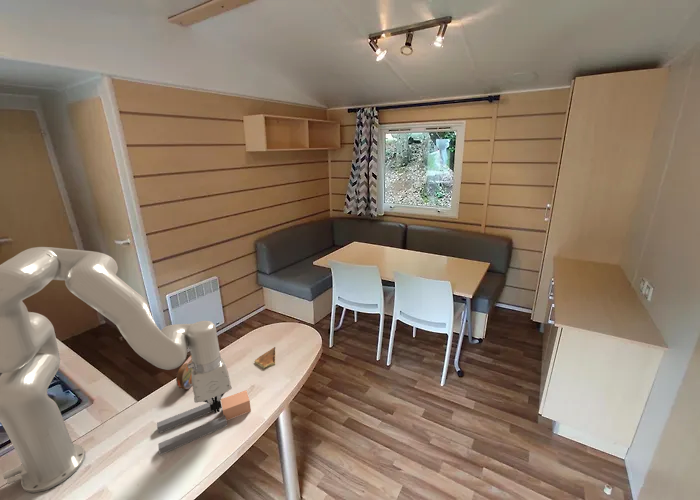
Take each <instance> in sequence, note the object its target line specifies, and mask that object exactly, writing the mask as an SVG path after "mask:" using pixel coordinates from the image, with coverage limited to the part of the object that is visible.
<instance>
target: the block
mask: <svg viewBox="0 0 700 500" xmlns="http://www.w3.org/2000/svg"><path fill="white" fill-rule="evenodd" d="M220 401H221V406H222V407H221V408H222V413H223V416H225V417H226V421H227V422H228V421H230V420H231V419H232V420H233V419H235V418H237V417H240V416H242V415H245V414H247V413H250V412H252V408H251V402H250V398H249V394H248V391H247V390H242V391H240V392H236V393H234V394H232V395H229V396H225V397H222V398H221V400H220Z"/></svg>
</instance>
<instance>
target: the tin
mask: <svg viewBox="0 0 700 500" xmlns="http://www.w3.org/2000/svg"><path fill="white" fill-rule="evenodd" d="M191 361H192V357H191V354H190V356H189V357H188V358H186V359H185V361H184V362H183V364H182V365H180V366H179V369H178V371H177V374H176V377H175V378H176V379H175V380H176V384H177V387H178V388H179V389H180V390H182V389H183V390H189V389H191V388H193V386H192V368H189V369H188V365H187V364H190V363H191Z"/></svg>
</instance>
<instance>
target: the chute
mask: <svg viewBox="0 0 700 500" xmlns="http://www.w3.org/2000/svg"><path fill="white" fill-rule="evenodd" d="M214 401H215V400H214ZM220 402H221V400H220ZM220 408H222V405H221V407H220ZM220 408H219V409H220ZM216 411H217V409H216ZM212 412H214V410H212V411H211V408H210V404H209V403H206V402H205V403H204V404H202V405H201V404H200V405H199V406H195V407H193V408H191V409H188V410H186V411H183V412H180V413H178V414H175V415H173V416H170V417H168V418H165V419H163V420H160V421H157V422H156V427H157V432H158V434H160V433H163V432H165V431H167V430H170V429H172V428H174V427H175V428H176V427H177V426H180V425H182V424H185V423H188V422H190V421H191V420H194V419H197V418H200V417H202V416H204V415H206V414H207V415H208V414H209V413H212ZM227 426H228V420H227V421H226V417H225V416H224V415H223V416H221V417H218V418H215V419H214V420H211V421H209V422H206V423H204V424H201V425H199V426H196V427H194V428H192V429H190V430H187V431H185V432H182V433H180V434H178V435H175V436H173V437H171V438H168V439H165V440H164V441H162V442H158V444H157V445H158V452H159V455H160V456H161V455H163V454H166V453H168V452H170V451H172V450H175V449H177V448H179V447H181V446H183V445H186V444H188V443H191V442H193V441H195V440H198V439H200V438H202V437H204V436H206V435H209V434H212V433H213V432H216V431H218V430H220V429H223V428H225V427H227Z"/></svg>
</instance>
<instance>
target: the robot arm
mask: <svg viewBox="0 0 700 500" xmlns="http://www.w3.org/2000/svg"><path fill="white" fill-rule="evenodd" d="M118 268H119V267H118V264H117V261H116V260H115V259H114V258H113V257H112V256H110V255H108V254H106V253H104V252H103V253H102V252H99V251H92V250H82V249H71V248H61V247H51V246H49V247H48V246H37V247H36V246H35V247H30V248H27V249H25V250H22V251H21V252H19V253H17V254H15V256H13V257H11V258H9V259H7V260H6V261H4V262H2V263H1V264H0V423H1V426H2V427H3V429H4V430H5V432H6V435H7V437H8V438H9V439H10V442H11V444H12V446H13V448H14V451H15V452H16V455H17V456H18V458H19V461H20V463H21V464H20V465H19V466H17V467H13V468H10V469H8V470H5V471H4V472H3V479H4V480H6V481H7V483H6V484H7V485H11V484H13V483H15V482H17V481H21V487H22V489H23V490H24V491H25V492H29V493H40V492H44V491H47V490H49V489H52V488H54V487H56V486H58V485H59V484H61V483H63V482H64V481H66V480H67V479H68V478H70V477H71V476H72V475H73V474H74V473H76V471H77V470H78V469H79V468H80V467H81V465H82V463H83V462H84V460H85V457H86V451H85V448H84V447H83V446H81V444H75V443H73V440H72V438H71V436H70V433H69V430H68V428H67V425H66V422H65V421H64V418H63V416H62V413H61V411H60V409H59V407H58V404H57V402H56V401H55V400H53V399H52V398H51V397H50V396H49V395H48V390H49V389H48V388H49V386H50V385H51V383H52V381H53V380H54V378H55V376H56V375H57V373H58V370H59V369H60V366H61V356H60V351H59V347H58V341H57V337H56V333H55V328H54V325H53V323H52V322H51V321H50V320H49V319H48V317H46V316H45V315H43V314H40V313H38V312H33V311H32V312H31V311H28V307H27V306H26V304H25V302H23V301H25V299H27V298H30V297H31V296H33V295H35V294H37V293H39V292H40V291H42V290H43V289H45V288H46V286H47V285H49V283H50V282H52V281H53V280H54V281H64V284H65V287H66V288H67V289H68V291H69V292H70V293H72V294H73V295H74V297H77V298H78V299H80V300H81V301H83V303H86V305H88V306H90V307H91V308H92V309H93V310H95V311H96V312H98V313H99V314H101V315H102V316H104V317H105V318H107V319H108V320H109V321H110V322H112V323H113V324H114V325H116V327H117V329H118V331H119V332H120V334H121V335H122V337H123V338H124V340H126V342H127V344H128V345H129V346H130V348H132V349H133V351H134V352H135V353H136V354H137V355H138V356H140V357H141V358H143V360H145V361H147V362H148V363H150V364H151V365H152V366H155V367H156V368H159V369H161V370H165V371H166V370H167V371H170V370H175V369H177V368H180V367H181V366H182V365H183V364H184V363H185V361H186V360H187V355H188V349H189V352H190V355H191V357H192V361H191V363H190V364H187V365H188V369H189V368H192V392H193V401H194V403H195V404H196V403H197V404H198V403H201V402H203V403H205V404H206V403H209V404H210V408H211V411H212V410H214V411H212V412H213V414H214V415H215V414H217V413H220V412H221V411H220V407H221V406H222V403H221V402H220V401H221V399H222V398H223V396H224V395H225V394H226V393H228V392H229V391H231V390H232V385H231V379H230V375H229V371H228V366H227V364H226V362H225V360H224V358H222V357H221V351H220V345H219V339H218V338H219V337H218V333H217V328H216V325H215V323H213V321H211V320H210V321H209V320H199V321H196V322H194V323H175V324H170V325H167V326H165V327H163V328H162V329H160V328H159V327H158V325H157V323H156V322H155V320H154V318H153V315H152V313H151V310H150V306H149V304H148V302H147V299H146V298H145V297H144V296H143V295H141V294H140V293H139V292H137V291H136V290H135V289H133V287H131V286H130V285H129V284H127V283H126V282H125V281H124V280H123V279H122V278H120V277H119V276H118V275H117V273H118V271H119V269H118ZM214 400H215V401H214ZM221 408H222V407H221ZM216 409H217V410H216Z"/></svg>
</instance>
